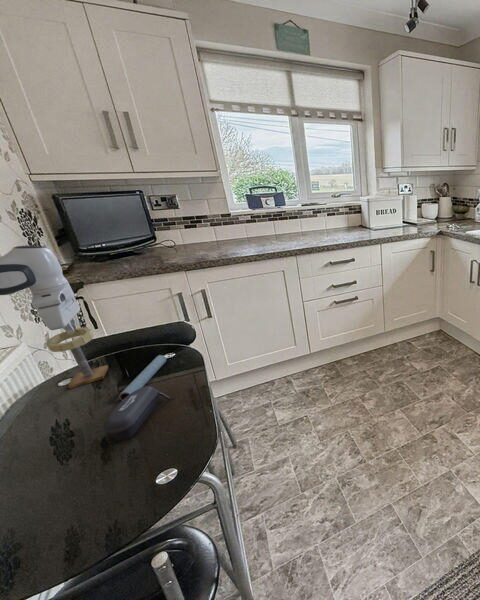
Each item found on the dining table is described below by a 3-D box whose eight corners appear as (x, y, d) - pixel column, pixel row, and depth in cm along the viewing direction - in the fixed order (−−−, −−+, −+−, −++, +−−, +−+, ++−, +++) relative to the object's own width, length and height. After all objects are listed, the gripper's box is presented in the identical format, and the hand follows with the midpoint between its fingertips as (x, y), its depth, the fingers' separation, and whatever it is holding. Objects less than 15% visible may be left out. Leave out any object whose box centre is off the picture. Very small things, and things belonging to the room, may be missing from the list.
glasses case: (131, 402, 96) (132, 380, 94) (171, 406, 100) (174, 384, 98) (91, 448, 80) (92, 421, 78) (142, 450, 83) (143, 425, 81)
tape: (45, 355, 102) (41, 349, 101) (55, 340, 110) (51, 334, 109) (90, 344, 107) (86, 338, 106) (96, 330, 115) (93, 324, 114)
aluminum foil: (133, 400, 99) (129, 391, 98) (109, 405, 98) (104, 395, 97) (168, 362, 120) (164, 354, 119) (148, 365, 119) (144, 357, 118)
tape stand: (69, 389, 108) (50, 354, 103) (76, 377, 115) (59, 343, 110) (104, 379, 112) (87, 345, 107) (109, 368, 119) (93, 335, 114)
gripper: (51, 288, 113) (69, 324, 118) (28, 305, 96) (50, 346, 102) (75, 284, 116) (92, 319, 121) (57, 300, 99) (77, 339, 104)
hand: (73, 332), depth 111 cm, fingers closed on tape, 1 cm apart
